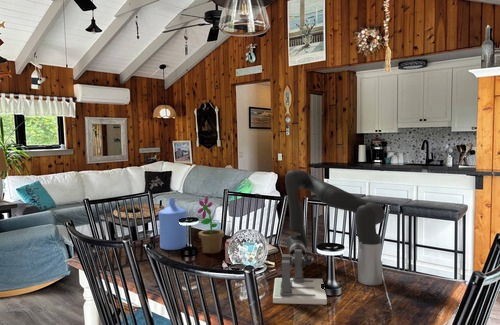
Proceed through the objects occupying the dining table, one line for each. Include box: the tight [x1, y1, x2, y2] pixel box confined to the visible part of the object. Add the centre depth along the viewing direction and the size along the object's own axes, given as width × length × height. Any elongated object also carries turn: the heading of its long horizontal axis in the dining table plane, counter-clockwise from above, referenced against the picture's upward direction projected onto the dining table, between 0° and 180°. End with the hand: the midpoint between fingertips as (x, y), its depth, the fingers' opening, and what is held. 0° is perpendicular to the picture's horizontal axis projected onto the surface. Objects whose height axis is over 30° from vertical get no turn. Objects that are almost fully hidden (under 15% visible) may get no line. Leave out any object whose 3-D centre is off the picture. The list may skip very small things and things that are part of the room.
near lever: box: [280, 259, 292, 296], centre depth 143 cm, size 4×4×12 cm
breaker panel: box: [272, 277, 328, 305], centre depth 150 cm, size 20×20×2 cm
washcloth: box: [267, 244, 279, 256], centre depth 207 cm, size 12×18×3 cm, turn 42°
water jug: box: [158, 198, 188, 251], centre depth 218 cm, size 16×16×28 cm
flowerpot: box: [197, 196, 225, 254], centre depth 208 cm, size 14×14×30 cm
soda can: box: [224, 238, 231, 264], centre depth 186 cm, size 7×7×12 cm
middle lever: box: [281, 253, 292, 288], centre depth 150 cm, size 4×4×12 cm
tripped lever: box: [292, 249, 305, 282], centre depth 157 cm, size 4×4×12 cm
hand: (298, 265), depth 154 cm, fingers closed on tripped lever, 3 cm apart
